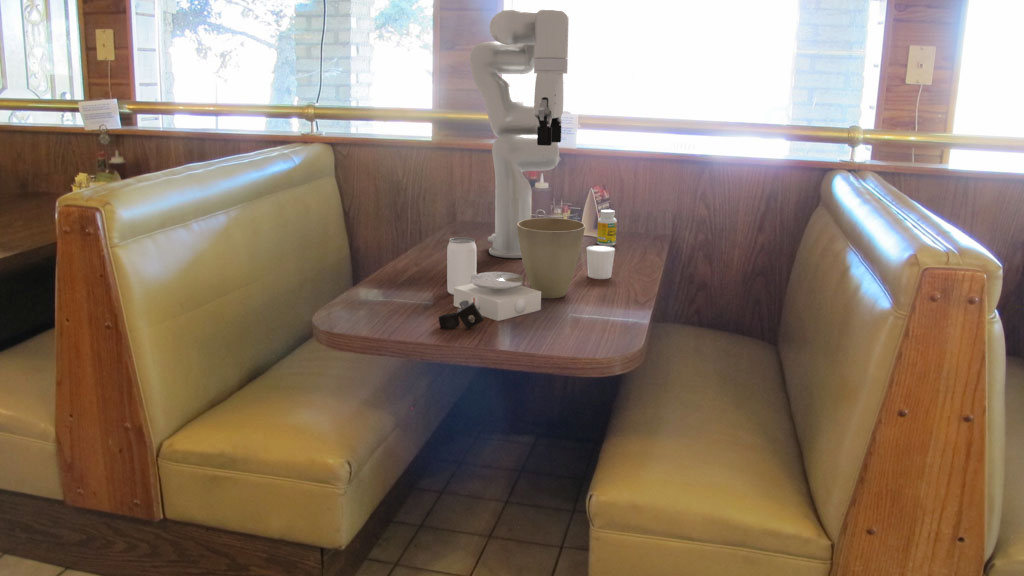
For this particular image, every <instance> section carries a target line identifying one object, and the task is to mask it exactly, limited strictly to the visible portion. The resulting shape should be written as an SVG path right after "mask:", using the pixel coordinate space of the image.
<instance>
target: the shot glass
mask: <svg viewBox="0 0 1024 576" xmlns="http://www.w3.org/2000/svg"><path fill="white" fill-rule="evenodd" d="M615 253H616V249H615V247H613V246H603V245H599V244H596V245H595V244H594V245H589V246H587V247H586V261H587V264H586V265H587V276H588V277H589V278H592V279H595V280H606V279H610V278H612V273H613V266H614V259H615Z"/></svg>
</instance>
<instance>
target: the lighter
mask: <svg viewBox="0 0 1024 576" xmlns="http://www.w3.org/2000/svg"><path fill="white" fill-rule="evenodd" d="M459 305H460V306H461V308H457V310H456V311H457V312H452V313H443V314H441V315H439V316H438V323H439V326H440V327H439V328H440V329H443V330H450V329H455V328H458V327H459V326H461V325H460V324H461V323H460V322H462V323H463V325H464V326H465V328H466V329H467V330H470V329H471V328H473V327H475V326H477V325H478V324H479V323H482V322H483V321H484V320H485V318H484V316H482V315H481V314H480V312H479V311H478V309H477V308H476V306H475V304H474V303H472V302H471V303H470V304H469V301H467V300H466V301H465V300H463V301H462V302H460V303H459ZM460 320H461V321H460Z"/></svg>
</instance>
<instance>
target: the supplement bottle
mask: <svg viewBox="0 0 1024 576" xmlns="http://www.w3.org/2000/svg"><path fill="white" fill-rule="evenodd" d="M615 214H616V212H615V210H613V209H601V210H600V214H599V215H600V217H598V219H597V233H596V234H597V235H596V243H597V245H602V246H610V247H613V246H616V244H617V228H618V227H617V225H618V224H617V222H618V220H617V218H616V217H615Z"/></svg>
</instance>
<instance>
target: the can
mask: <svg viewBox="0 0 1024 576" xmlns="http://www.w3.org/2000/svg"><path fill="white" fill-rule="evenodd" d="M448 241H449V242H448V244H447V246H446V249H447V250H446V252H447V253H446V255H447V257H446V261H447V263H446V264H447V265H446V267H447V270H446V276H447V277H446V281H447V282H446V283H447V285H446V287H447V292H448V293H449V295H452V296H454V287H459V286H463V285H468V284H472V283H471V277H472V276H473V275H476V274H477V245H476V243H475V241H476V240H475V239H474V238H472V237H463V236H462V237H459V236H458V237H452V238H450V239H449V240H448Z"/></svg>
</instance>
